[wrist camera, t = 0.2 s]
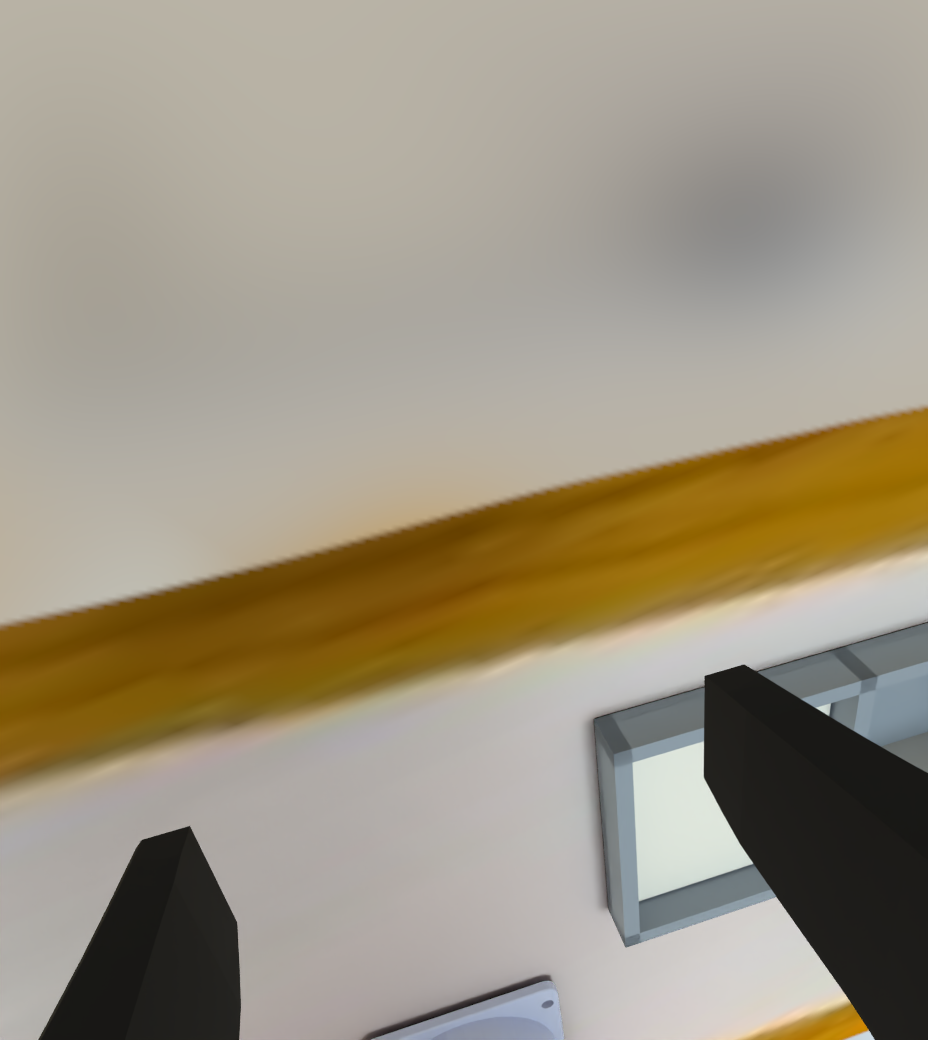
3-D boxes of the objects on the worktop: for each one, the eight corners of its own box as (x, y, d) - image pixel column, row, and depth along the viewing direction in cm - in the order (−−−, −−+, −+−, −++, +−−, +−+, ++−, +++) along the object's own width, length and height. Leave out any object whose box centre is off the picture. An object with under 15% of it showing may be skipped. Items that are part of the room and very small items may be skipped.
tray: (1019, 775, 32) (1054, 804, 30) (608, 909, 29) (625, 947, 28) (1081, 578, 27) (1125, 602, 26) (593, 719, 24) (613, 754, 23)
